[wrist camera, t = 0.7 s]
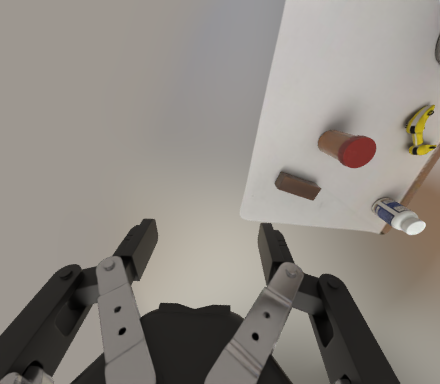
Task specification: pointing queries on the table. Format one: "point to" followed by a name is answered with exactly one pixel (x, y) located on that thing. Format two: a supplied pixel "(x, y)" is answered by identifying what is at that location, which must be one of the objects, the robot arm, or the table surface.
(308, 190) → the lid rest
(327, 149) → the jar
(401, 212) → the pill bottle
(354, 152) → the jar lid
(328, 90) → the table surface
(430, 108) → the yellow curved piece
